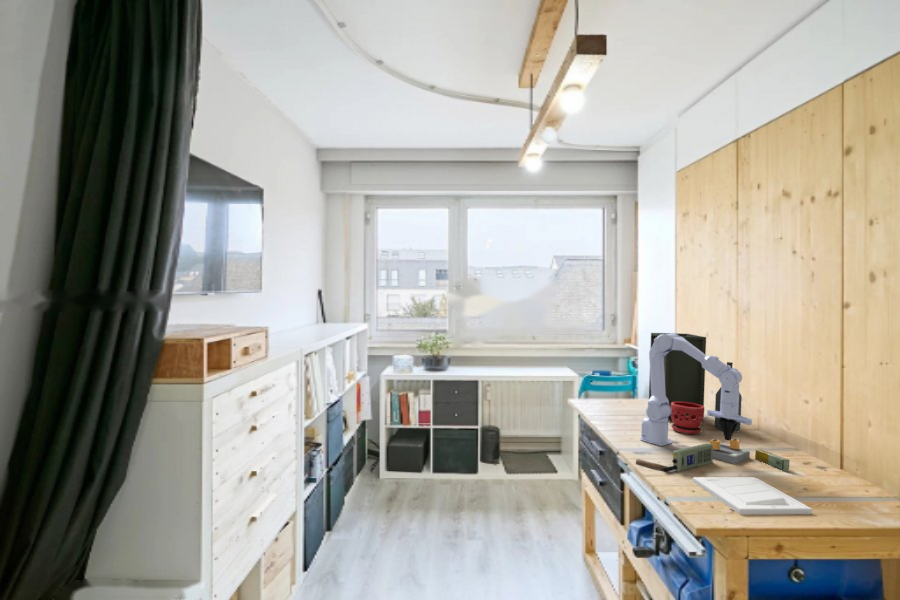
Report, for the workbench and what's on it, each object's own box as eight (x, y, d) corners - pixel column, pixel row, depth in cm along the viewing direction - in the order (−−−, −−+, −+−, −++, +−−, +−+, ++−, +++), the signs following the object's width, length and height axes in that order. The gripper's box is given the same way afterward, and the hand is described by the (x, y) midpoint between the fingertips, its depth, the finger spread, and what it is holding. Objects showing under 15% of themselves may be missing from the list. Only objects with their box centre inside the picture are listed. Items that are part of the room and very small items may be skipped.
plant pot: (705, 437, 203) (706, 409, 203) (670, 433, 208) (671, 405, 208) (701, 429, 215) (702, 402, 215) (669, 425, 220) (670, 399, 220)
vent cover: (813, 503, 133) (740, 503, 132) (812, 515, 133) (739, 516, 132) (755, 472, 156) (692, 472, 154) (754, 482, 156) (692, 482, 154)
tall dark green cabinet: (703, 421, 228) (706, 337, 228) (663, 420, 229) (666, 336, 228) (684, 412, 247) (687, 333, 246) (648, 411, 247) (650, 332, 246)
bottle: (731, 426, 222) (734, 360, 221) (745, 432, 212) (748, 364, 212) (709, 425, 222) (712, 360, 221) (722, 432, 212) (724, 363, 211)
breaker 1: (709, 448, 179) (710, 439, 179) (713, 447, 181) (713, 438, 181) (716, 450, 178) (716, 440, 177) (719, 448, 179) (720, 439, 179)
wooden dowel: (636, 465, 170) (635, 461, 169) (638, 461, 171) (637, 457, 170) (665, 473, 163) (665, 469, 162) (667, 469, 164) (666, 465, 163)
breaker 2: (729, 447, 180) (730, 438, 180) (732, 446, 182) (733, 437, 182) (736, 449, 179) (736, 440, 178) (739, 448, 180) (739, 439, 180)
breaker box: (700, 454, 181) (700, 447, 181) (715, 448, 188) (716, 442, 188) (734, 464, 171) (734, 456, 171) (749, 458, 178) (749, 450, 178)
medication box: (789, 471, 166) (790, 460, 166) (783, 471, 165) (783, 460, 165) (760, 459, 178) (761, 448, 178) (754, 459, 177) (754, 448, 177)
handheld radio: (714, 463, 172) (669, 475, 160) (705, 461, 175) (660, 472, 162) (714, 444, 172) (669, 454, 160) (705, 442, 175) (660, 452, 163)
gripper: (756, 405, 172) (754, 443, 172) (714, 397, 183) (712, 433, 184) (747, 407, 168) (745, 446, 168) (704, 399, 179) (703, 435, 180)
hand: (727, 439), depth 176 cm, fingers closed
